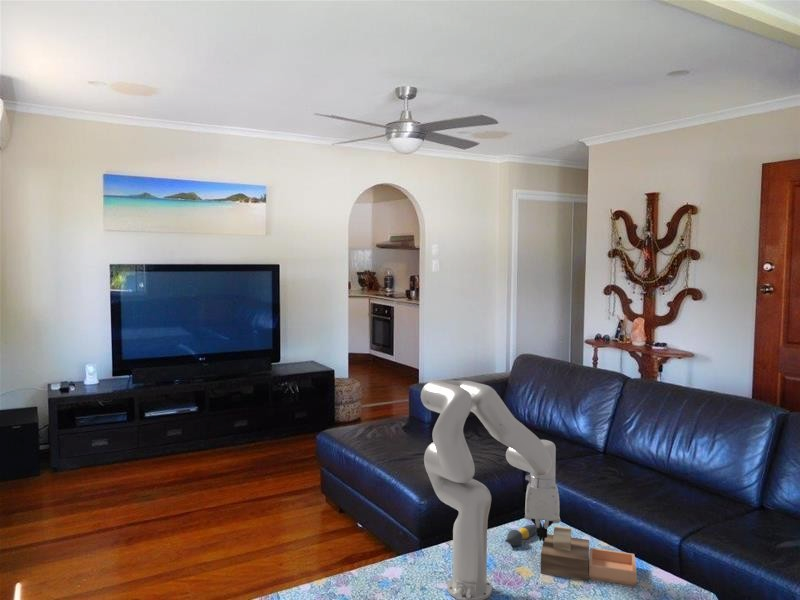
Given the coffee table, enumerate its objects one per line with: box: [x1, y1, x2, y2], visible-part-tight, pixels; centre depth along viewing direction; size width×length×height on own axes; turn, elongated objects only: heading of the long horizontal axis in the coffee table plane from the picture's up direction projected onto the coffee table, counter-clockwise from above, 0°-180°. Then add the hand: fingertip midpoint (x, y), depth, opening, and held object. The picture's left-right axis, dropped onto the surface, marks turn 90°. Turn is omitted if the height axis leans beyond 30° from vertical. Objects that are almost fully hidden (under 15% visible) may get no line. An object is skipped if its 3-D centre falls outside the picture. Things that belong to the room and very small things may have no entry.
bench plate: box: [540, 533, 590, 581], centre depth 184 cm, size 14×14×6 cm
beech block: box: [552, 525, 572, 551], centre depth 184 cm, size 5×5×5 cm
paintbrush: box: [504, 524, 537, 547], centre depth 202 cm, size 20×5×5 cm, turn 143°
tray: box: [588, 547, 638, 587], centre depth 180 cm, size 12×13×4 cm
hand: (542, 539), depth 186 cm, fingers closed
